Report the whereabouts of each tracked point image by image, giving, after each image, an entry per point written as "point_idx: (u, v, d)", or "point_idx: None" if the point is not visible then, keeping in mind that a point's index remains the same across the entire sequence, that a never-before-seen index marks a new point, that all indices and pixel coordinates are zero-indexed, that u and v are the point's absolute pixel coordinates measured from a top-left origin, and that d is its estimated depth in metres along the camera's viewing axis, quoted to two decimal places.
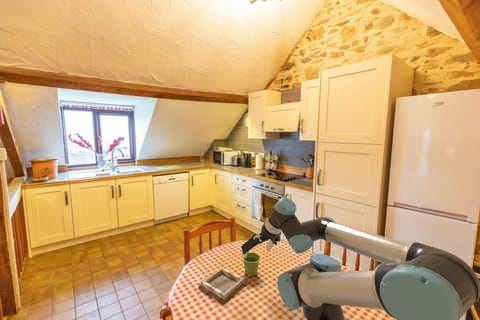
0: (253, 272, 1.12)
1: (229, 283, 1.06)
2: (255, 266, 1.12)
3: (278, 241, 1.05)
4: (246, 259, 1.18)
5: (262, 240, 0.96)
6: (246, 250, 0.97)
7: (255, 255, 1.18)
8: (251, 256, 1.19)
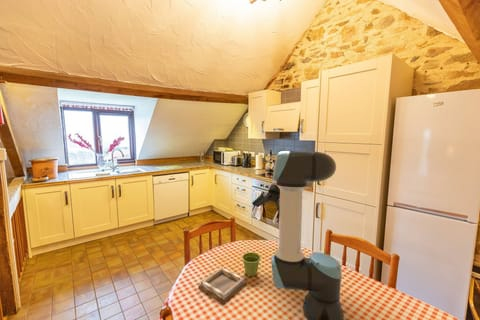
0: (253, 272, 1.12)
1: (229, 283, 1.06)
2: (255, 266, 1.12)
3: None
4: (246, 259, 1.18)
5: (267, 196, 1.28)
6: (254, 204, 1.28)
7: (255, 255, 1.18)
8: (251, 256, 1.19)
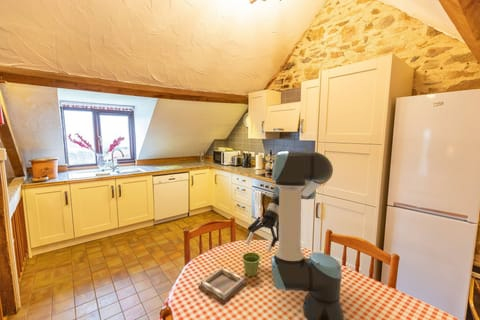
0: (253, 272, 1.12)
1: (229, 283, 1.06)
2: (255, 266, 1.12)
3: (277, 237, 1.17)
4: (246, 259, 1.18)
5: None
6: (250, 229, 1.28)
7: (255, 255, 1.18)
8: (251, 256, 1.19)
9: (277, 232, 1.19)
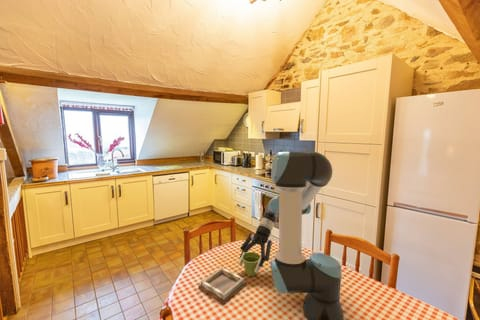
0: (253, 272, 1.12)
1: (229, 283, 1.06)
2: (255, 266, 1.12)
3: (265, 257, 1.11)
4: (246, 259, 1.18)
5: None
6: (243, 249, 1.19)
7: (255, 255, 1.18)
8: (251, 256, 1.19)
9: (267, 251, 1.13)
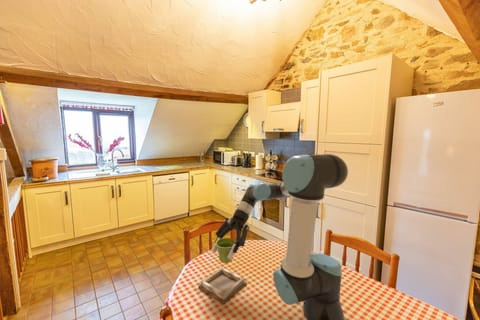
0: (227, 259, 1.03)
1: (229, 283, 1.06)
2: (229, 252, 1.02)
3: (240, 242, 1.01)
4: (221, 245, 1.08)
5: (230, 223, 1.11)
6: (218, 235, 1.10)
7: (231, 241, 1.09)
8: (227, 242, 1.09)
9: (242, 236, 1.03)
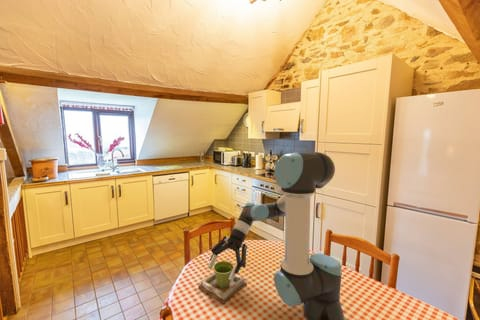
0: (225, 283, 1.02)
1: None
2: (227, 277, 1.01)
3: (241, 263, 1.00)
4: (218, 269, 1.07)
5: None
6: (213, 251, 1.11)
7: (228, 264, 1.08)
8: (224, 265, 1.08)
9: (242, 256, 1.02)
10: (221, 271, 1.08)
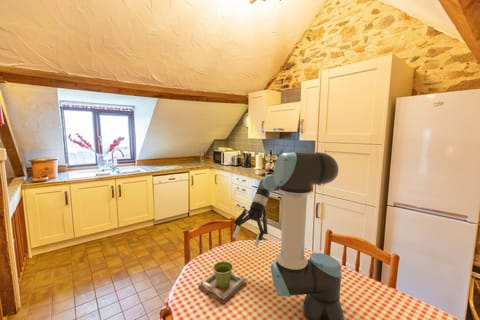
0: (225, 283, 1.02)
1: None
2: (227, 277, 1.02)
3: (264, 231, 1.13)
4: (218, 269, 1.07)
5: (248, 214, 1.22)
6: (236, 223, 1.23)
7: (228, 264, 1.08)
8: (224, 265, 1.08)
9: (264, 225, 1.14)
10: (221, 271, 1.08)
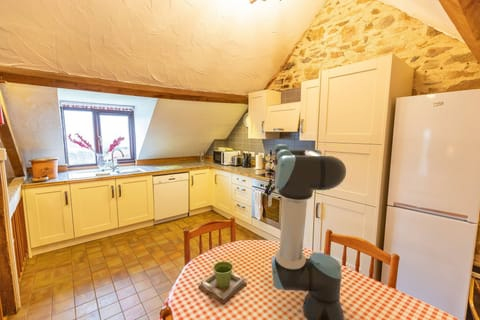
0: (225, 283, 1.02)
1: None
2: (227, 277, 1.01)
3: None
4: (218, 269, 1.07)
5: (275, 184, 1.28)
6: (267, 193, 1.32)
7: (228, 264, 1.08)
8: (224, 266, 1.08)
9: None
10: (221, 271, 1.08)
